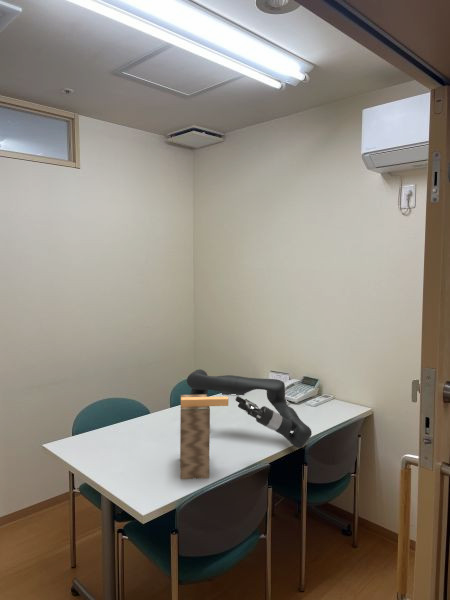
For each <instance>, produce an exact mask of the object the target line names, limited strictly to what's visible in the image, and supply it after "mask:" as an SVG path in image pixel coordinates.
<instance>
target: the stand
mask: <svg viewBox="0 0 450 600" xmlns="http://www.w3.org/2000/svg"><path fill="white" fill-rule="evenodd" d="M181 397H208V394H206V395H190V394H180V398H181ZM210 407H211V406H199V407H181V406H180V423H179V424H180V426H179V427H180V430H179V431H180V436H179V438H180V439H179V441H180V442H179V444H180V445H179V448H180V449H179V450H180V451H179V463H180V464H179V468H180V470H179V475H180V480H190V479H191V480H192V479H193V478H196V479H210V444H211V443H210V439H211V438H210V437H211V436H210V435H211V434H210V433H211V432H210V431H211V426H210V425H211V424H210V420H211V408H210Z"/></svg>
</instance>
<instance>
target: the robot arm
mask: <svg viewBox="0 0 450 600" xmlns="http://www.w3.org/2000/svg"><path fill="white" fill-rule="evenodd" d="M186 383H187V385H188V387H189V388H191V391H190V393H189V395H206V394H207V395H208V394H209V393H208V392H209V391H214V392H219V393H222V392H226V393H231V394H239V395H241V394H244V395H245V394H247V393H249V392H252V391H255V390H265V391H266V398H267V400H268V402H269V403H270V404H271V406H273V408H274V409H275V410H276V411H277V412H276V411H274V410H272V409H271V408H269V407H267V406H265V405H263V406H262V407H261V408H259V406H258V405H257V404H255V403H254V402H252V401H250V400H248V399H247V398H245V399H244V398H242V397H240V396H239V395H236V397H235V399H234V400H235V402H237V403H238V405H237V407H238V408H239V409H240V410H243V411H244V412H245V413H247V415H248V416H250V417H253V418H255V421H256V423H259V424H260V425H262V426H264V427H265V428H268V429H270V430H271V431H274V432H276V433H278V434H280V435H282V436H283V438H285V439H286V440H287V441H288V442H289V443H290V444H291V445H292V446H293V447H295V448H297V449H300V448H303V447H304V445H306V443H307V442H308V440H309V439H311V436H312V429H311V428H310V427H309V425H307V424H306V423H304V422H303V421H302V420H301V418H300V417H299V415H298V414H297V412H296V410H295V409H294V408H292V407H291V406H288V402H287V400H286V384H285V382H284V381H282V380H281V379H276V378H256V377H246V376H245V377H244V376H239V375H232V374H231V375H229V374H228V375H217V376H216V375H215V376H214V375H212V376H211V375H208V374H207V371H205V370H204V369H200V368H199V369H196V370H193V371H192V372H191V373H190V374H188V376H187V378H186Z"/></svg>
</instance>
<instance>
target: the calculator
mask: <svg viewBox="0 0 450 600" xmlns="http://www.w3.org/2000/svg"><path fill="white" fill-rule="evenodd" d="M229 394H231V393H226V392H221V395H222V396H223V395H224V396H230V395H229ZM241 395H245V394H241ZM235 396H239V394H236V395H235Z"/></svg>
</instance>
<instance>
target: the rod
mask: <svg viewBox="0 0 450 600" xmlns="http://www.w3.org/2000/svg"><path fill="white" fill-rule="evenodd" d="M199 406H209V407H229V396H207V397H181V396H180V408H181V407H199Z"/></svg>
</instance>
